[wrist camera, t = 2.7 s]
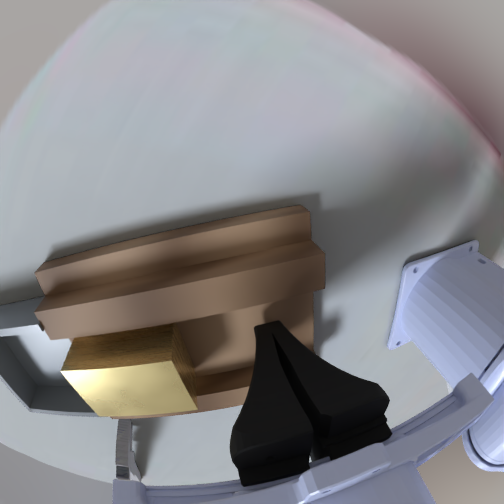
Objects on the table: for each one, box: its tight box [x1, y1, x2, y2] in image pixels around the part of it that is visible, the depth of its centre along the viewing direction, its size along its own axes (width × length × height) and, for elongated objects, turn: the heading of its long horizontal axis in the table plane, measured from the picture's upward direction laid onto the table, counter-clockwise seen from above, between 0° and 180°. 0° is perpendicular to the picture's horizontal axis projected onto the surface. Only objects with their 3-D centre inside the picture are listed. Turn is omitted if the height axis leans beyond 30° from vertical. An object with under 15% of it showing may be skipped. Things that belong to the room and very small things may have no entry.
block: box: [61, 322, 198, 416], centre depth 12 cm, size 6×4×3 cm, turn 98°
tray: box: [0, 296, 108, 417], centre depth 12 cm, size 8×8×3 cm
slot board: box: [34, 205, 325, 419], centre depth 14 cm, size 14×12×3 cm
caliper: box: [116, 419, 141, 482], centre depth 18 cm, size 20×1×6 cm, turn 164°
